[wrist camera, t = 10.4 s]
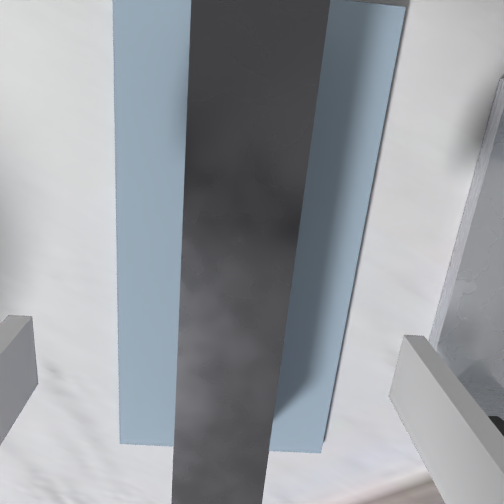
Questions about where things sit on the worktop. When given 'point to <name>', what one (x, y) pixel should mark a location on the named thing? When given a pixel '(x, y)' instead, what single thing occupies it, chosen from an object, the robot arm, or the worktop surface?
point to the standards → (478, 279)
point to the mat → (171, 211)
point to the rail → (240, 233)
